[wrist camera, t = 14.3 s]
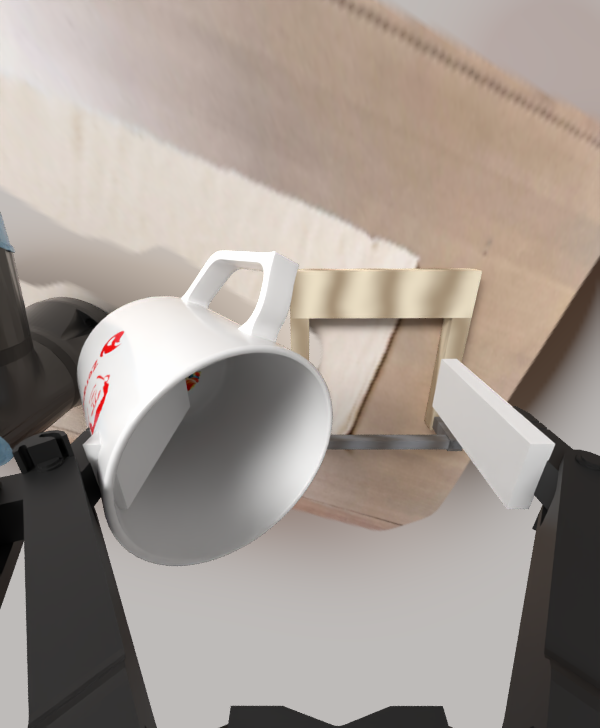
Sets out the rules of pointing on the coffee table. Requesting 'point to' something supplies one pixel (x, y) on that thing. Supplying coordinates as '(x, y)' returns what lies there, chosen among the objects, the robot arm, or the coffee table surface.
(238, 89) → the coffee table surface
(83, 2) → the coffee table surface
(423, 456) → the coffee table surface
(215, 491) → the mug
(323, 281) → the beige and grey frame
